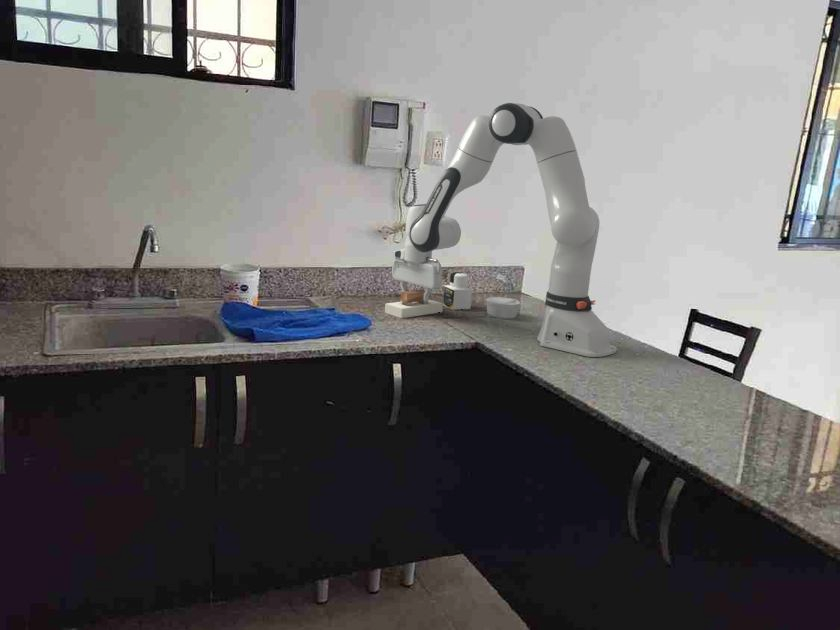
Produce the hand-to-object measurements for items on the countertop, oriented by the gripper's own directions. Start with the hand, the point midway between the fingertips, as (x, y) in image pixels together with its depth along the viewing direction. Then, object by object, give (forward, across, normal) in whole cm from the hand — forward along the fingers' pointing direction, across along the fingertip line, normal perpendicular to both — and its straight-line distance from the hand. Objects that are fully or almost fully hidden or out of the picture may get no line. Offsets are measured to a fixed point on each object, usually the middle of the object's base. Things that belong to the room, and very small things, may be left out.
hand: (415, 297), depth 215 cm
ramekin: (+5, -17, -24) cm, 30 cm away
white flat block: (+5, 0, 0) cm, 5 cm away
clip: (+5, 0, 0) cm, 5 cm away
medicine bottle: (+5, -1, -19) cm, 20 cm away
